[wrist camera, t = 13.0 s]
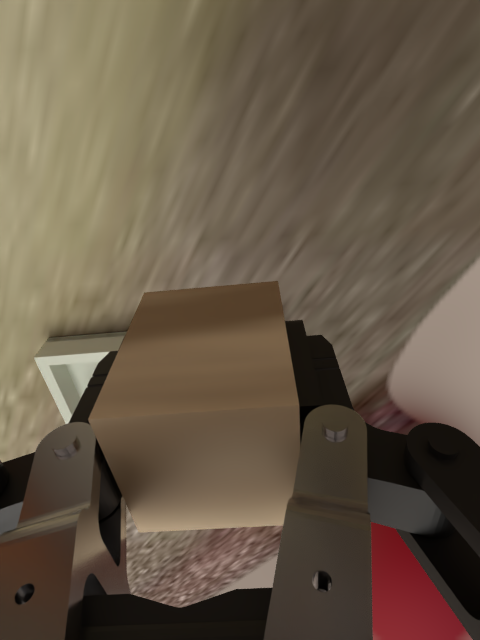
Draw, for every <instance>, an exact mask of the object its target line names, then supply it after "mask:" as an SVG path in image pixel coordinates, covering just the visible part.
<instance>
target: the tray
mask: <svg viewBox="0 0 480 640" xmlns="http://www.w3.org/2000/svg"><path fill="white" fill-rule="evenodd" d="M126 333H127V331H126V332H113V333H101V334H89V335H77V336H64V337H52V338H48V339H47V341H46V342H45V343H44V345H43V346H42V347H41V349H40V350H39V352H38V353H37V354H36V356H35V357H34V359H35V361H36V363H37V365H38V367H39V369H40V371H41V373H42V375H43V377H44V380H45V382H46V384H47V386H48V388H49V390H50V392H51V394H52V396H53V398H54V400H55V402H56V404H57V406H58V408H59V411H60V413H61V415H62V417H63V419H64V421H65V423H66V424H68V423H69V421H70V419H71V417H72V415H73V413H74V411H75V409H76V407H77V405H78V403H79V401H80V399H81V397H82V395H83V393H84V391H85V389H86V388H87V385H88V383H89V381H90V379H91V377H93V376H92V375H93V373H94V370H95V368H96V366H97V364H98V363H99V362H100V361H101V360H102V359H103V358H104V357H105V356H106V355H107V354H108V353H109V352H110V351H118V350H119V347H120V345H121V343H122V341H123V338H124V336H125V335H126Z"/></svg>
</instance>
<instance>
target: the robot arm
mask: <svg viewBox="0 0 480 640" xmlns="http://www.w3.org/2000/svg"><path fill="white" fill-rule="evenodd" d="M285 325H286V331H287V337H288V343H289V348H290V354H291V360H292V366H293V372H294V377H295V383H296V389H297V395H298V401H299V414H300V452H299V458H298V464H297V471H296V477H295V483H294V489H293V494H292V497H291V498H289V500H288V503H287V508H286V513H285V518H284V524H283V530H282V536H281V541H280V547H279V553H278V559H277V565H276V570H275V576H274V583H273V588H256V589H255V588H254V589H236V590H233V591H230V592H227V593H224V594H221V595H218V596H215V597H212V598H209V599H207V600H204V601H201V602H198V603H195V604H192V605H189V606H186V607H182V608H177V607H173V606H169V605H166V604H162V603H159V602H156V601H152V600H149V599H145V598H142V597H138V596H135V595H131V593H130V589H129V585H128V580H127V571H126V502H125V500H124V498H123V496H122V494H121V491H120V489H119V487H118V485H117V483H116V480H115V478H114V476H113V474H112V472H111V469H110V467H109V465H108V463H107V460H106V458H105V456H104V454H103V452H102V449H101V447H100V445H99V443H98V441H97V438H96V436H95V434H94V432H93V429H92V427H91V425H90V423H89V421H88V418H89V416H90V414H91V412H92V409H93V407H94V405H95V403H96V400H97V398H98V396H99V394H100V391H101V389H102V387H103V385H104V382H105V380H106V378H107V376H108V373H109V371H110V369H111V367H112V364H113V362H114V360H115V358H116V355H117V353H118V351H119V350H118V351H110V352H109V353H108V354H107V355H106V356H105V357H104V358H103V359H102V360H101V361H100V362H99V363H98V364H97V366H96V368H95V370H94V373H93V375H92V376H93V377H91V379H90V381H89V383H88V385H87V388H86V389H85V391H84V393H83V395H82V397H81V399H80V401H79V403H78V405H77V407H76V409H75V411H74V413H73V415H72V417H71V419H70V421H69V423H68V424H65V425H63V426H60V427H58V428H56V429H55V430H53V431H52V432H50V433H49V434H48V435H47V436H45V438H44V439H43V440H42V441H41V442H40V444H39V445H38V447H37V449H36V452H34V453H31V454H28V455H25V456H22V457H19V458H16V459H13V460H10V461H6V462H3V463H2V462H1V461H0V640H373V637H372V573H371V572H372V571H371V522H374V523H378V524H381V525H385V526H389V527H392V528H396V530H397V532H398V533H399V535H400V536H401V538H402V539H403V540H404V542H405V543H406V545H407V546H408V548H409V549H410V550H411V552H412V553H413V555H414V556H415V558H416V559H417V560H418V562H419V563H420V565H421V566H422V568H423V569H424V570H425V572H426V573H427V575H428V576H429V578H430V579H431V580H432V582H433V583H434V585H435V586H436V587H437V589H438V590H439V592H440V593H441V595H442V596H443V598H444V599H445V601H446V602H447V603H448V605H449V606H450V608H451V609H452V611H453V612H454V613H455V615H456V616H457V618H458V619H459V621H460V622H461V623H462V625H463V626H464V627H465V629H466V631H467V632H468V633H469V635H470V636H471V638H472V639H473V640H480V447H479V446H478V445H477V444H476V443H475V442H474V441H473V440H472V439H471V438H470V437H468V436H467V435H466V434H465V433H463V432H461V431H460V430H458V429H456V428H454V427H451V426H449V425H445V424H441V423H424V424H420V425H418V426H416V427H414V428H413V429H412V430H411V431H410V432H409V434H408V435H404V434H399V433H393V432H388V431H384V430H380V429H377V428H375V427H373V426H371V425H369V424H367V423H366V422H364V420H363V419H362V417H361V416H360V415H359V414H358V413H356V412H355V411H354V409H353V407H352V404H351V401H350V398H349V395H348V392H347V389H346V386H345V383H344V380H343V377H342V374H341V371H340V369H339V365H338V362H337V359H336V356H335V353H334V350H333V347H332V344H331V343H329V342H328V341H327V340H326V339H325V338H324V337H323V336H322V335H314V336H306V332H305V328H304V324H303V321H302V320H296V321H285ZM124 337H125V336H124ZM123 340H124V338H123ZM122 342H123V341H122ZM121 344H122V343H121ZM120 346H121V345H120ZM119 349H120V347H119Z"/></svg>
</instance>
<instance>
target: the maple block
mask: <svg viewBox="0 0 480 640" xmlns="http://www.w3.org/2000/svg"><path fill="white" fill-rule="evenodd" d="M88 421H89V423H90V425H91V427H92V429H93V432H94V434H95V436H96V438H97V441H98V443H99V445H100V447H101V449H102V452H103V454H104V456H105V458H106V460H107V463H108V465H109V467H110V469H111V472H112V474H113V476H114V478H115V480H116V483H117V485H118V487H119V489H120V491H121V494H122V496H123V498H124V500H125V502H126V505H127V507H128V509H129V511H130V514H131V516H132V518H133V520H134V522H135V525H136V527H137V529H138V531H139V532H158V531H177V530H197V529H217V528H237V527H256V526H276V525H283V524H284V518H285V513H286V508H287V503H288V500H289V498H291V497H292V494H293V489H294V483H295V477H296V471H297V464H298V458H299V452H300V414H299V401H298V395H297V389H296V383H295V377H294V372H293V366H292V360H291V354H290V348H289V343H288V337H287V331H286V325H285V320H284V314H283V308H282V302H281V296H280V291H279V285H278V281H272V282H261V283H249V284H238V285H227V286H215V287H204V288H192V289H181V290H169V291H158V292H147V293H144V295H143V297H142V299H141V302H140V304H139V306H138V308H137V311H136V313H135V315H134V317H133V320H132V322H131V324H130V326H129V329H128V331H127V333H126V335H125V337H124V340H123V342H122V344H121V346H120V349H119V351H118V353H117V355H116V358H115V360H114V362H113V364H112V367H111V369H110V371H109V373H108V376H107V378H106V380H105V382H104V385H103V387H102V389H101V391H100V394H99V396H98V398H97V400H96V403H95V405H94V407H93V409H92V412H91V414H90V416H89V418H88Z"/></svg>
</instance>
